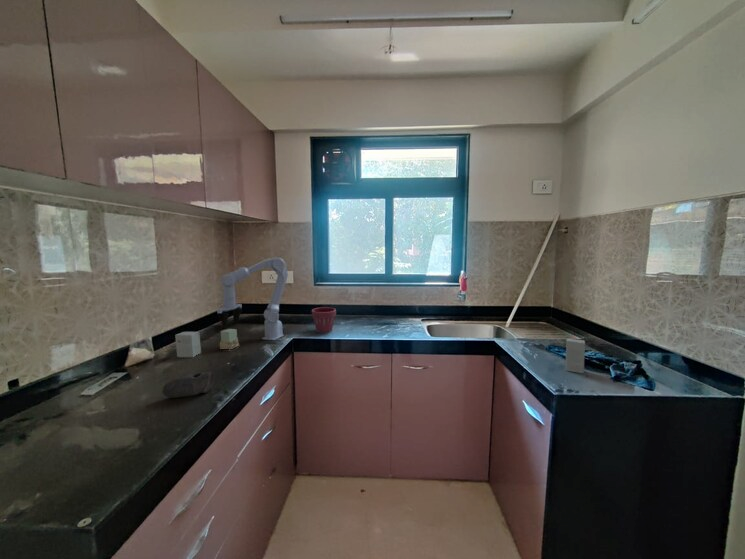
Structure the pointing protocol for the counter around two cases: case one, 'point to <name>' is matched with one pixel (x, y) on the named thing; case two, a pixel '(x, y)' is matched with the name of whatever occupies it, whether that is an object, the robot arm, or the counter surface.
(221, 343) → the slab top
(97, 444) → the counter surface
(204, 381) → the perforated stone tool
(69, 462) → the counter surface
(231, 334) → the sage cube
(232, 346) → the slab bottom
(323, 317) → the plant pot
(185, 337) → the small box
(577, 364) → the skincare box
